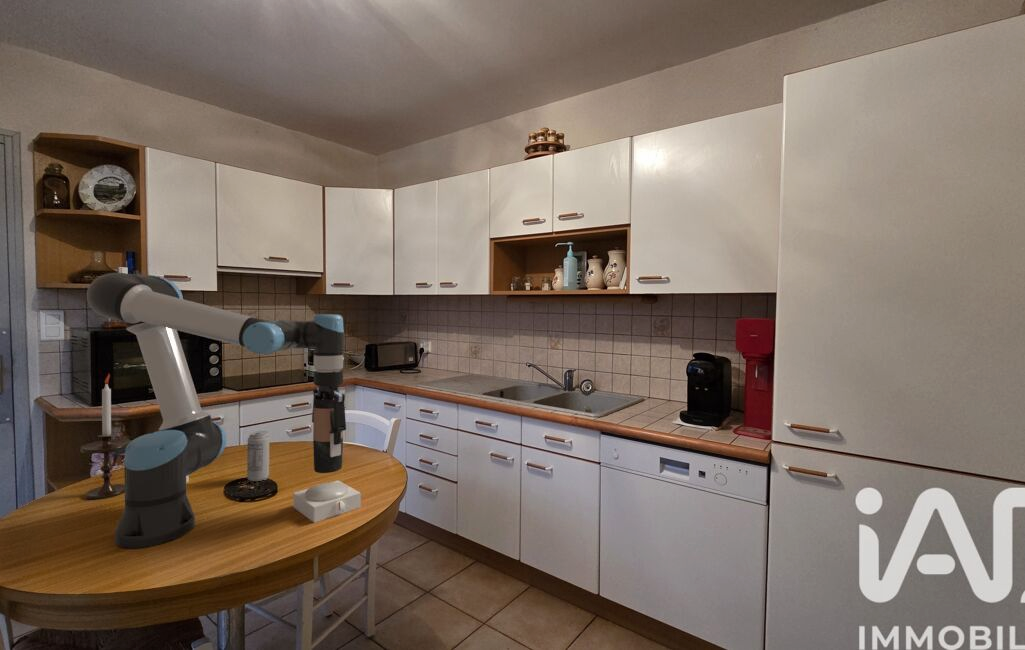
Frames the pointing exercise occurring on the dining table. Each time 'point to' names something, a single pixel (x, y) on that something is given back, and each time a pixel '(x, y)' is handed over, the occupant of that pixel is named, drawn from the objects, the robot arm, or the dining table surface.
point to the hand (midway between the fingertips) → (328, 452)
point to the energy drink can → (258, 456)
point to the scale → (326, 500)
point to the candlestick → (106, 451)
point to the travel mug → (324, 438)
